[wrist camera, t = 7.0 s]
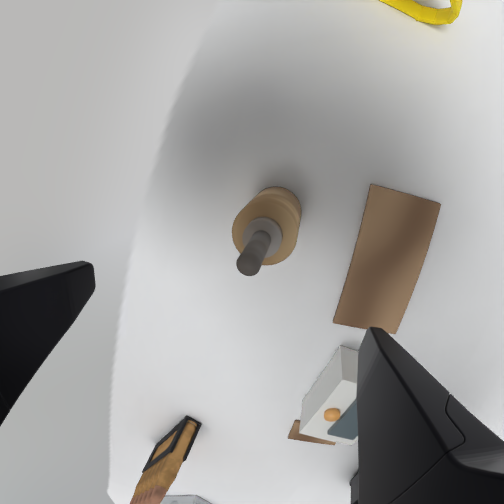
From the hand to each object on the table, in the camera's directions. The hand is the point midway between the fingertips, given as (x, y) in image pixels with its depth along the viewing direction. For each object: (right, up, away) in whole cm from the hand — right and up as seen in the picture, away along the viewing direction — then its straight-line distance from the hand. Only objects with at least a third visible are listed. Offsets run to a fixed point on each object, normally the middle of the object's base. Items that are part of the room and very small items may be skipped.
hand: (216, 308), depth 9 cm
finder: (+9, -9, +15) cm, 20 cm away
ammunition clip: (-8, -20, +22) cm, 31 cm away
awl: (+3, +4, +11) cm, 12 cm away
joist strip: (+9, -6, +13) cm, 17 cm away
